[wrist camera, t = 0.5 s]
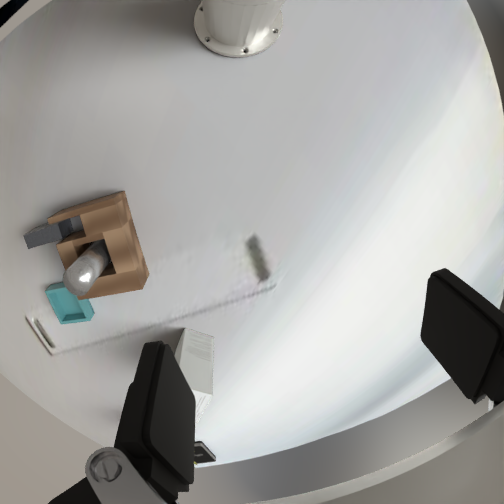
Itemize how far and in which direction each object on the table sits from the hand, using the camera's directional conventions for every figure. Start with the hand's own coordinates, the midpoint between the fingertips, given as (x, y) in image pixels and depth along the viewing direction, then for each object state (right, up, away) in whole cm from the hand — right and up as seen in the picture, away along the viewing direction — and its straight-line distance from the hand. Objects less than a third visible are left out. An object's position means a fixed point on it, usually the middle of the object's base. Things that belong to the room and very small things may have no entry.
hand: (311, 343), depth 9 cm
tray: (-35, -6, +37) cm, 51 cm away
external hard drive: (-17, -52, +59) cm, 81 cm away
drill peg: (-25, +4, +34) cm, 43 cm away
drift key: (-35, +7, +32) cm, 48 cm away
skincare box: (-13, -14, +43) cm, 47 cm away
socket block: (-25, +4, +34) cm, 43 cm away
